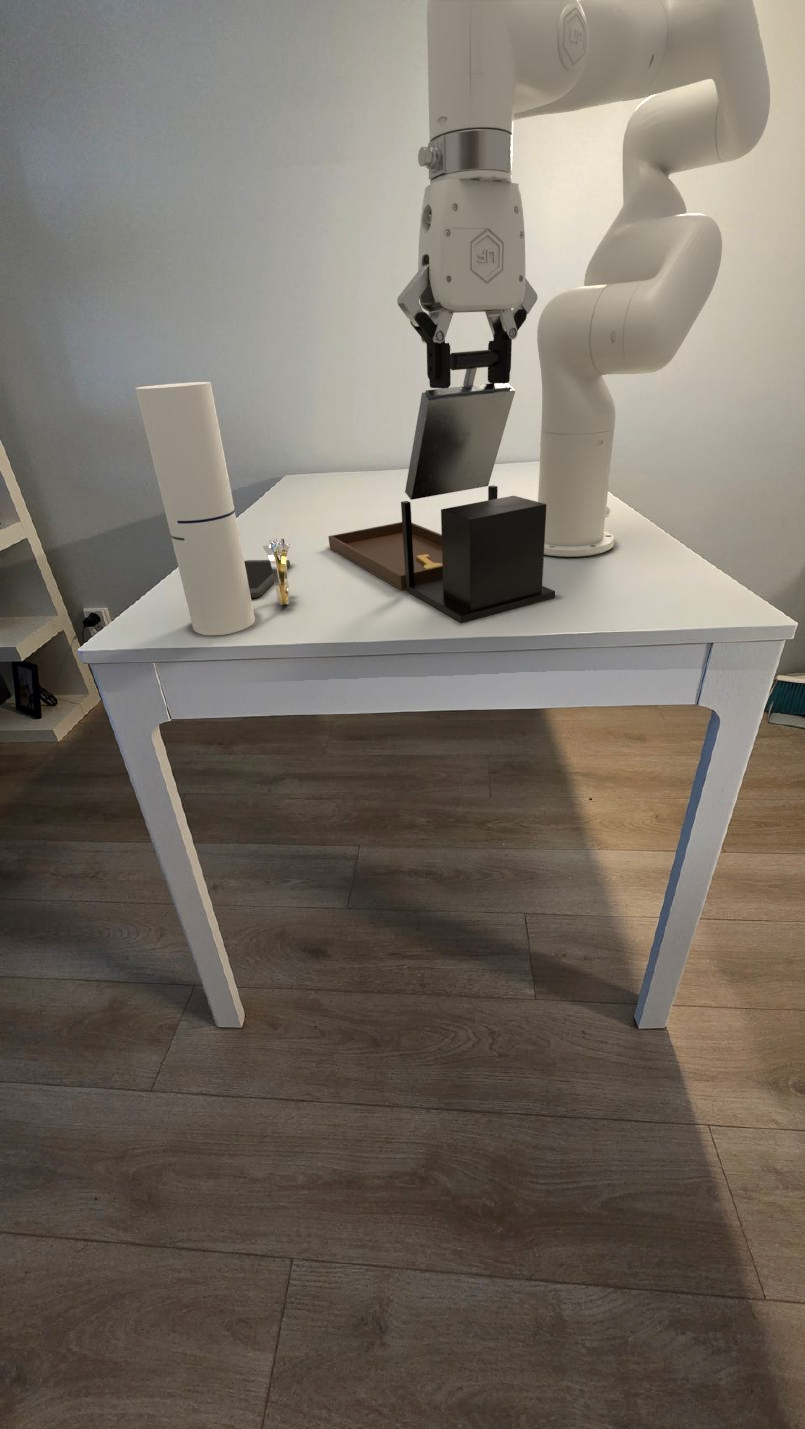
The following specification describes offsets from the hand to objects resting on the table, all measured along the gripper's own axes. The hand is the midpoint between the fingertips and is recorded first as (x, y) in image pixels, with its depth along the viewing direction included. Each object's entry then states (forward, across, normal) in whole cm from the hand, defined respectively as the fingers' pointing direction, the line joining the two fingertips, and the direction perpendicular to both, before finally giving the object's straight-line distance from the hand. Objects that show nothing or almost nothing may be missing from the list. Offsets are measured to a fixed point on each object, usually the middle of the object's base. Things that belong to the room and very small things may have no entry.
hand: (469, 383), depth 68 cm
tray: (+23, +1, +18) cm, 29 cm away
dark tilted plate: (+5, 0, +2) cm, 5 cm away
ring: (+24, -20, +10) cm, 33 cm away
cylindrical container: (+24, -28, +9) cm, 38 cm away
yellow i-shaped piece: (+22, +1, +12) cm, 25 cm away
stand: (+23, +1, -1) cm, 23 cm away
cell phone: (+23, -21, +22) cm, 39 cm away
